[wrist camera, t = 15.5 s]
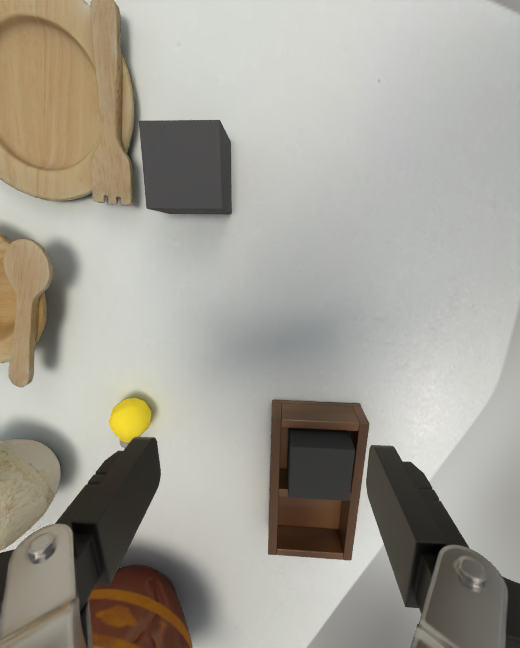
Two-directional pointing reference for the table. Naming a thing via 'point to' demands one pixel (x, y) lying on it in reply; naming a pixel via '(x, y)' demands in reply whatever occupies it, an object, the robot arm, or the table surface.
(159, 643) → the jug
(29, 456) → the decorative object
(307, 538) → the back frame
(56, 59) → the tableware set
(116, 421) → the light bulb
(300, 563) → the table surface
